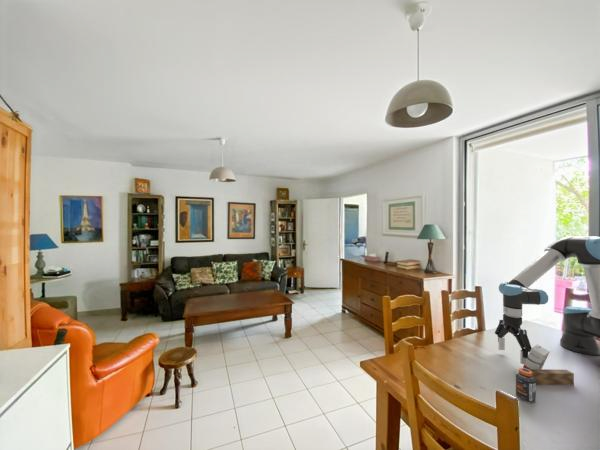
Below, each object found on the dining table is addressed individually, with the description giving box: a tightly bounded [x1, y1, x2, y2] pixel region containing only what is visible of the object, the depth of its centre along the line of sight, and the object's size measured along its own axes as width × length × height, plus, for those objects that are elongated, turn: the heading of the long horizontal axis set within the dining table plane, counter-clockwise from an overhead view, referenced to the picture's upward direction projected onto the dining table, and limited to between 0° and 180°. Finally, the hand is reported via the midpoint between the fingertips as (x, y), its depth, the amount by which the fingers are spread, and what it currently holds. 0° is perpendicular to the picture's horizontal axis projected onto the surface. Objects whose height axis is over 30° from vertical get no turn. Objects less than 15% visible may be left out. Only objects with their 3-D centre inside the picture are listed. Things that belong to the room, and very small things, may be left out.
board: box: [528, 368, 575, 386], centre depth 109 cm, size 19×3×5 cm, turn 89°
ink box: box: [522, 344, 551, 369], centre depth 116 cm, size 8×5×12 cm, turn 122°
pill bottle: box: [515, 367, 537, 404], centre depth 99 cm, size 6×6×11 cm
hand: (512, 356), depth 128 cm, fingers open, 13 cm apart
